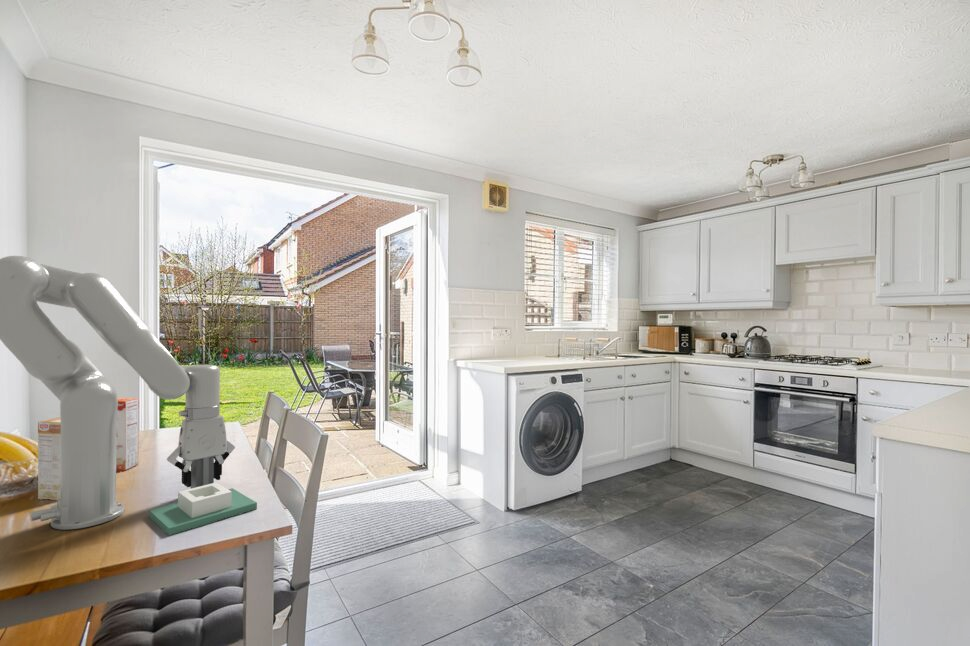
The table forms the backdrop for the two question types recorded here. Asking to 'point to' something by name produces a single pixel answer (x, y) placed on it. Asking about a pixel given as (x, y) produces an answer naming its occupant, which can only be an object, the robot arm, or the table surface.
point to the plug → (202, 472)
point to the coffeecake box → (49, 459)
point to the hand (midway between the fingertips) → (202, 481)
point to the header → (204, 499)
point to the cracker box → (127, 433)
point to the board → (179, 521)
